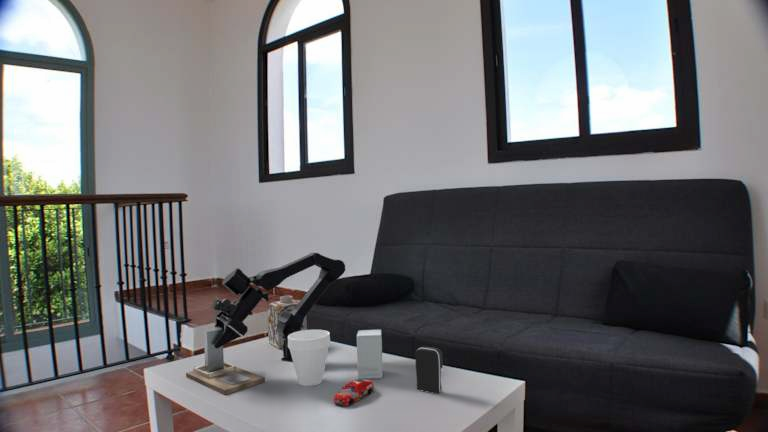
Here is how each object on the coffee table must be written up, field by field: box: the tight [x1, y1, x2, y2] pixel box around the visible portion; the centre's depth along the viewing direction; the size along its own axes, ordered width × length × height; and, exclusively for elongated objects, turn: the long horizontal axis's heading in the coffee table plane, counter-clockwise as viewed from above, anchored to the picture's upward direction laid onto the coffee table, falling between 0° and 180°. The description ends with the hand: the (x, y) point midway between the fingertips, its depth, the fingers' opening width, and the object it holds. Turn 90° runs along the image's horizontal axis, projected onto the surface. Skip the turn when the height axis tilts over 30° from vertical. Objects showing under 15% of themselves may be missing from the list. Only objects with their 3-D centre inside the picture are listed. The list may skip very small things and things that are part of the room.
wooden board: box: [185, 361, 266, 395], centre depth 139 cm, size 13×24×2 cm, turn 47°
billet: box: [203, 326, 225, 373], centre depth 143 cm, size 5×5×13 cm
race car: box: [333, 378, 375, 406], centre depth 121 cm, size 13×5×4 cm, turn 144°
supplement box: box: [356, 329, 384, 380], centre depth 138 cm, size 7×7×13 cm
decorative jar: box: [267, 295, 308, 350], centre depth 177 cm, size 12×12×18 cm
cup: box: [288, 329, 331, 387], centre depth 134 cm, size 12×12×14 cm
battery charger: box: [415, 346, 444, 394], centre depth 124 cm, size 7×4×11 cm, turn 56°
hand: (211, 344), depth 143 cm, fingers open, 9 cm apart
